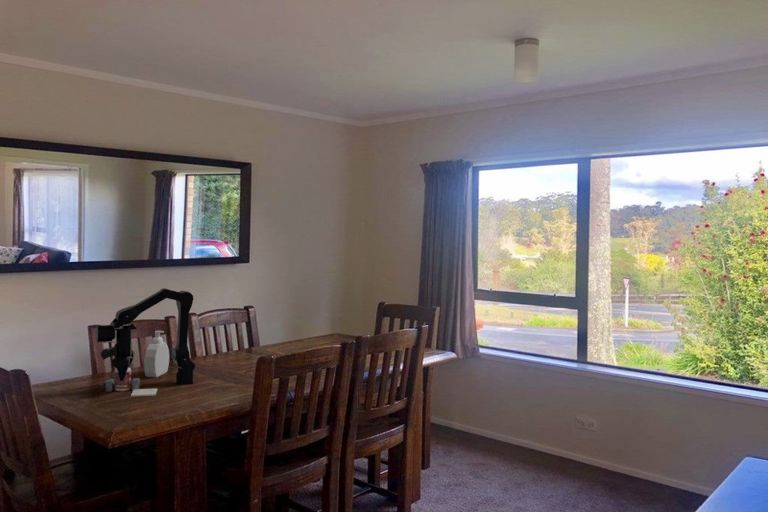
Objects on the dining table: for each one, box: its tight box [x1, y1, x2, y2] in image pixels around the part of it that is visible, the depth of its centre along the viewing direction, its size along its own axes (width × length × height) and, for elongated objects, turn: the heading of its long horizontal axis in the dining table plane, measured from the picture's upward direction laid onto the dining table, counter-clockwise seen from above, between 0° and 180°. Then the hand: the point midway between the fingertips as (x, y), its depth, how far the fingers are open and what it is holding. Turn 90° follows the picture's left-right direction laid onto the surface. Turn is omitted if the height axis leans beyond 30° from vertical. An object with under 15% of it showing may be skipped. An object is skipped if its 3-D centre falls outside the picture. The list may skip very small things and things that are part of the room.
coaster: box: [130, 388, 158, 398], centre depth 241 cm, size 9×9×1 cm
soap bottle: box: [143, 330, 170, 378], centre depth 273 cm, size 16×5×20 cm, turn 177°
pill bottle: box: [114, 367, 132, 392], centre depth 245 cm, size 6×6×11 cm
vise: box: [98, 377, 141, 393], centre depth 246 cm, size 15×8×4 cm, turn 106°
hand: (123, 378), depth 245 cm, fingers open, 8 cm apart
